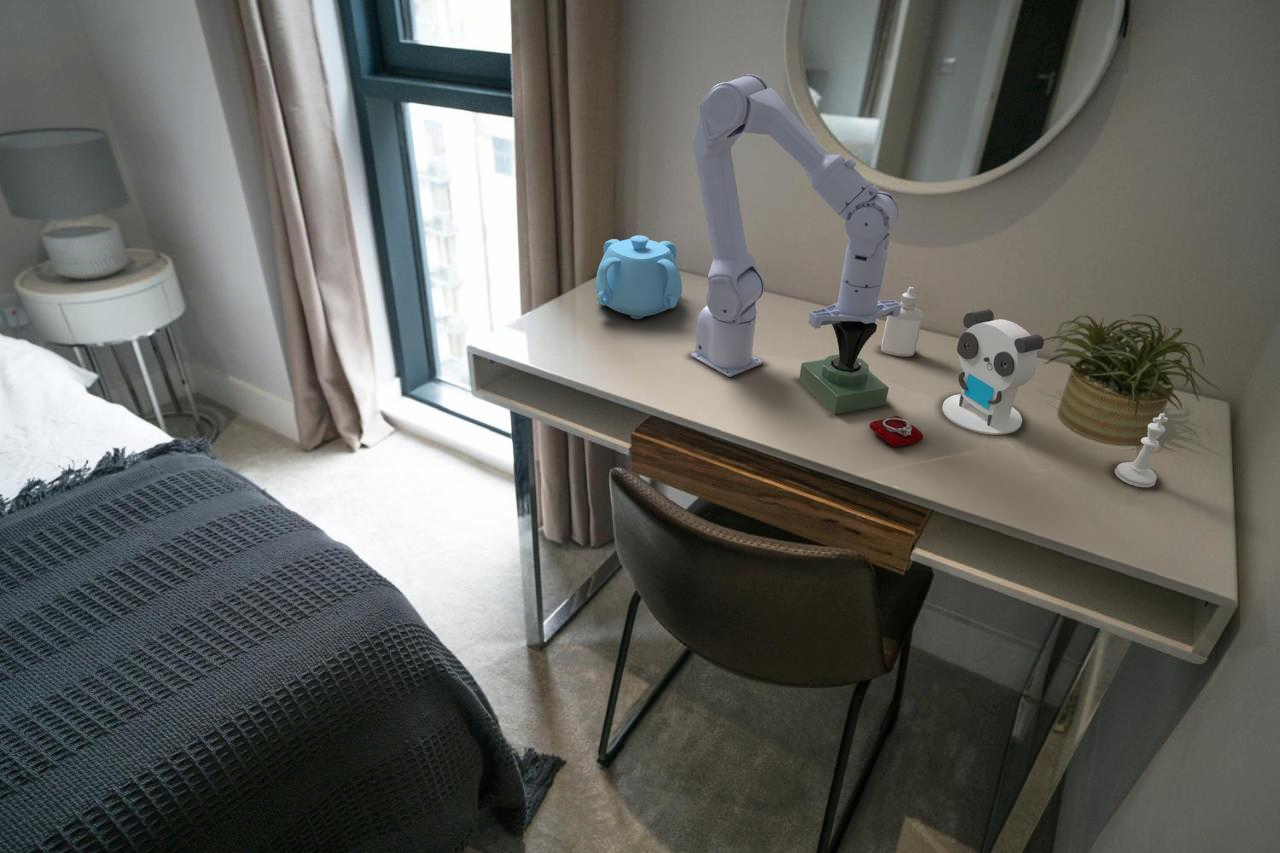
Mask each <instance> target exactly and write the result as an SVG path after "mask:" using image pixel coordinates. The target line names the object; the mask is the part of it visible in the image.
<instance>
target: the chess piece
mask: <svg viewBox="0 0 1280 853" xmlns="http://www.w3.org/2000/svg"><path fill="white" fill-rule="evenodd" d="M1168 420H1169V418H1168V417H1167V416H1166V414H1165V413H1164V412H1162V413H1161V412H1160V413H1159V415H1158V416H1157V417H1153V418H1152V422H1150V423H1148V424H1147V436H1144V437H1142V438H1141V439H1140V442H1141V444H1142V445H1143V447H1142V448H1141V449H1140V451H1139V453H1138V455H1137V456H1136V458H1135V459H1134V460H1133V461H1131V462H1130V461H1125V462H1121V463H1119V464H1118V465H1116V468H1115V469H1114V473H1115V476H1116V477H1117V478H1118V479H1119V480H1121V481H1122V482H1124V483H1126V484H1128V485H1131V486H1134V487H1138V488H1152V487H1154V486H1155V485H1156V483H1157V480H1158V477H1157V474H1156V473H1155V472H1154V471H1153V470H1152V469H1151V468H1150V467H1149V466H1148V465H1149V461H1150V458H1151V454H1152V451H1153V448H1154V449H1155V448H1158V447H1159V446H1160V442H1159V441H1158V439H1159V438H1160V437H1161V436H1162V435H1163V434H1164V433H1165V432H1166V431H1167V430H1166V427H1165V426H1164V425H1163V424H1162V423H1168Z"/></svg>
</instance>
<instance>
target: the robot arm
mask: <svg viewBox="0 0 1280 853" xmlns="http://www.w3.org/2000/svg"><path fill="white" fill-rule="evenodd" d="M698 108H699V113H700V114H699V117H698V120H697V124H696V128H695V132H694V135H693V140H692V148H693V155H694V160H695V165H696V171H697V177H698V183H699V189H700V193H701V198H702V199H701V200H702V204H703V210H704V216H705V220H706V221H705V222H706V226H707V232H708V237H709V238H708V239H709V243H710V249H711V254H712V262H711V265H710V269H709V272H708V275H707V283H708V290H707V293H706V298H705V300H706V306H705V307H703V309H702V310H701V311H700V313H699V314H698V317H697V321H696V330H695V331H696V332H695V346H694V352H691V354H690V356H691V357H692V358H694V359H696V360H697V361H699V362H701V363H703V364H705V365H707V366H708V367H709V368H712V369H713V370H715V371H717V372H718V373H721V374H722V375H724V376H726V377H729V378H730V377H731V378H732V377H733V376H736V375H739V374H741V373H744V372H746V371H748V370H750V369H751V370H752V369H753V368H755V367H758V366H760V365H762V364H763V360H762V359H761V358H758V357H756V356H754V355H753V348H754V339H755V332H756V331H755V330H756V322H757V321H756V320H757V312H758V311H757V308H756V304H757V301H758V300H759V299H761V298H762V296H763V294H764V292H765V281H764V278H763V276H762V274H761V273H760V271H759V269H758V267H757V263H756V258H755V257H754V256H753V255H752V254H750V252H749V251H748V250H747V242H746V236H745V231H744V225H743V224H744V223H743V218H742V217H743V216H742V212H741V206H740V205H741V204H740V198H739V192H738V186H737V180H736V174H735V168H734V162H733V156H732V155H733V154H732V147H733V146H734V145H735V143H736V142H737V140H738V139H739V138H740V136H741V135H742V134H743V133H744V134H755V135H766V136H769V137H771V139H772V140H774V141H775V142H776V143H777V144H778V145H779V146H780V147H781V148H783V150H784V151H785V152H787V153H788V154H789V155H790V156H791V157H792V158H793V159H794V160H795V161H797V162H798V163H799V164H800V165H801V166H802V167H803V168H804V169H805V170H806V171H808V172H809V178H810V179H809V180H810V187H811V189H813V191H815V192H816V194H817V195H819V196H820V197H821V198H822V200H823V201H824V202H825V203H826V204H827V205H828V206H829V207H830V208H831V209H832V210H833V211H834V212H835V213H836V214H837V215H838V216H839V217H840V218H841V219H842V220H844V227H845V231H846V232H845V233H846V234H847V237H848V240H847V241H848V242H847V246H846V249H845V255H844V260H843V261H844V262H843V267H842V273H841V277H840V278H841V279H840V284H839V291H838V297H837V302H835V303H833V304H830V305H828V306H825V307H822V308H818V309H815V310H811V311H809V316H808V324H809V325H810V326H811V327H813V328H814V329H821V328H822V326H829V325H832V327H833V331H834V334H835V337H836V341H837V347H838V354H839V358H840V361H841V362H842V363H843V364H844V365H845V366H851V365H854V363H855V361H856V359H857V358H859V355H860V353H861V351H862V349H863V347H864V346H865V345H866V343H867V342H868V341H869V339H870V338H871V337H872V336H873V335H874V334H875V333H876V332H877V329H878V325H877V323H876V322H877V318H884V317H887V316H892V317H899V315H900V311H901V306H902V305H901V304H900V303H899V302H898V301H897V300H895V299H889V300H879V298H880V293H881V288H882V282H883V278H884V273H885V268H886V262H887V259H888V258H887V257H888V247H889V244H890V236H891V233H890V231H891V230H892V229H893V228H894V226H895V225H896V223H897V221H898V219H899V207H898V204H897V202H896V201H895V199H894V198H893V195H892V194H890V193H888V192H886V191H882V190H881V191H880V188H879V187H878V186H877V185H876V184H874V185H872V184H870V182H868V180H867V179H866V178H865V177H864V176H863V175H862V174H861V172H859V171H858V170H857V168H855V167H856V166H857V162H855V161H854V159H853V158H852V157H849V158H847V159H846V157H844V156H843V155H842V154H829V153H828V152H827V151H826V150H825V149H824V147H822V146H821V144H820V143H819V142H818V141H817V140H816V139H815V137H814V136H813V135H812V134H811V133H810V131H808V129H807V128H806V127H805V126H804V125H803V123H801V121H800V120H799V119H798V118H797V117H796V115H795V114H794V113H793V112H792V111H791V110H790V109H789V107H788V106H787V105H786V104H785V103H784V101H783V100H782V98H781V96H780V94H779V93H778V92H777V91H776V90H775V89H773V88H772V87H770V86H768V84H767V82H766V81H765V80H764V79H763V78H762V77H760V76H759V75H756V74H752V73H748V74H744V75H741V76H739V77H738V78H735V79H732V80H729V81H727V82H720V83H717V84H716V85H714V86H713V87H711V89H710V90H709V91H708V92H707V94H706V95H705V96H704V97H703V98H702V100H701V101H700V102H699V104H698Z"/></svg>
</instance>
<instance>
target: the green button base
mask: <svg viewBox="0 0 1280 853" xmlns="http://www.w3.org/2000/svg"><path fill="white" fill-rule="evenodd" d="M838 357H839V353H838V354H832V355H828V356H826V357H825V358H823V359H819V360H818V359H817V360H811V361H806V362H801V364H800V372H799V378H798V379H799V382H800V383H801V384H802V385H803V386H804V387H805V388H806V389H807V390H808V391H810V392H811V394H813V396H815V397H816V399H818V400H819V401H820V402H821V403H822V404H823V405H824V406H825V407H826V408H827V409H828V410H829V412H831V413H832V414H833V415H838V414H843V413H844V414H845V413H849V412H854V411H861V410H866V409H872V408H876V407H877V408H878V407H882V406H886V403H887V398H888V394H889V390H890V389H889V388H890V387H889V385H887V384H886V383H884V382H883V381H882V380H881V379H879V378H878V376H876V375H875V374H873V373H872V372H871V371H870V366H869V364H868V363H867V361H865V360H864V359H862V358H860V357H857V359H856V360H857V361H858V362H859V364H860V365H859V370H858V371H855V372H844V371H840V370H837V369H835V368H834V367H833V360H834V359H835V358H838Z"/></svg>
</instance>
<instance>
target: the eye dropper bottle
mask: <svg viewBox="0 0 1280 853" xmlns="http://www.w3.org/2000/svg"><path fill="white" fill-rule="evenodd" d="M914 288H915V287H914V286H909V287H908V289H907V291H906V292H903V293H902V294H901V297H900V304H901V305H902V306H901V311H900V315H899V317H892V316H886V321H885V326H884V330H883V334H882V340H881V346H880V350H881V352H882V353H884V354H887V355H890V356H895V357H903V358H904V357H913V356H914V355H915V353H916V349H917V344H918V341H919V337H920V336H919V335H920V332H921V327H922V323H923V312H922V311H921V310H920V309H918V308H916V303H917V299H918V296H917V294H915V293H914V291H915V290H914Z"/></svg>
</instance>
